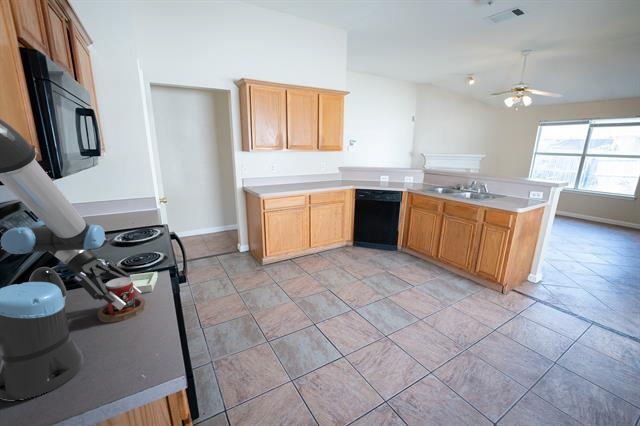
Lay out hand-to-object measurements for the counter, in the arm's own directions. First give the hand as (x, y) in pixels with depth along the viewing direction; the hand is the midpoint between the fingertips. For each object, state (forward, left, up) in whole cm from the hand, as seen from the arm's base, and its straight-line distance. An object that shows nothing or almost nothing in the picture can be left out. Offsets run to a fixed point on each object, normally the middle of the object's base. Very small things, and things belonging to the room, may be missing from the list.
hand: (131, 300), depth 97 cm
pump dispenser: (+13, +28, -4) cm, 31 cm away
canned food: (+1, +3, -4) cm, 5 cm away
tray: (+21, +3, -4) cm, 22 cm away
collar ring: (+1, +3, -4) cm, 5 cm away
